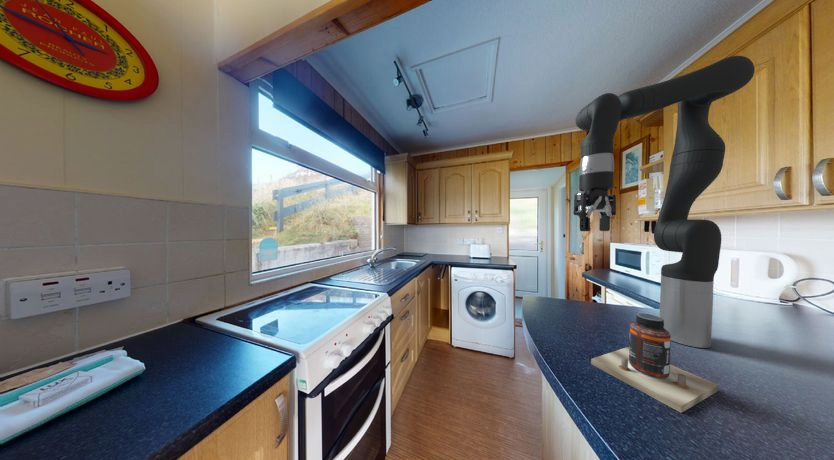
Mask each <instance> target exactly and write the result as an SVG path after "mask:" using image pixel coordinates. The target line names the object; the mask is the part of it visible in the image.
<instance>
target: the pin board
mask: <svg viewBox="0 0 834 460" xmlns="http://www.w3.org/2000/svg"><path fill="white" fill-rule="evenodd" d="M590 365H592V366H594V367H595V368H597V369H599V370H601V371H603V372H605V373H606V374H608V375H611V376H612V377H614V378H616V379H617V380H619V381H621V382H624V383H625V384H627V385H629V386H630V387H633V388H634V389H636V390H639V391H640V392H642V393H643V394H645V395H647V396H649V397H651V398H653V399H655V400H657V401H658V402H660V403H662V404H664V405H666V406H668V407H669V408H671V409H673V410H675V411H677V412H678V413H681V414H682V413H683V412H685V411H687V410H689V409H690V408H692V407H694V406H696V405H697V404H699V403H701V402H702V401H704V400H705V399H707V398H709V397H710V396H712V395H714V394H715V393H717V392H719V384H718V383H714V382H713V381H710V380H708V379H705V378H704V377H701V376H698V375H696V374H693V373H691V372H689V371H686V370H683V369H681V368H679V367H676V366H674V365H672V364H670V374H669V377H666V378H658V377H653V376H650V375H646V374H644V373H642V372H640V371H638V370H636V369H635V368H633V367H632V366H631V365H630V363H629V346H626V347H624V348H620V349H617V350H613V351H612V352H608V353H604V354H601V355H599V356H595V357H593V358H591V359H590Z"/></svg>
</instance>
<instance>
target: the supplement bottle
mask: <svg viewBox="0 0 834 460" xmlns="http://www.w3.org/2000/svg"><path fill="white" fill-rule="evenodd" d="M663 326H664V320H663V319H662V318H660V316H657V315H655V314H654V315H653V314H649V313H636V318H635V321H634V322H632V323H631V324H630V325H629V346H628V347H629V363H630V365H631V366H632V367H633V368H635V369H636V370H638V371H640V372H642V373H644V374H646V375H650V376H653V377H658V378H666V377H669V374H670V365H671V345H672V341H671V335H670V333H669V332H668V331H667V330H666V329H664V327H663Z"/></svg>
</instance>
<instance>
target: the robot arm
mask: <svg viewBox="0 0 834 460" xmlns="http://www.w3.org/2000/svg"><path fill="white" fill-rule="evenodd" d="M755 71H756V70H755V65H754V63H753V61H752V60H751V59H750V58H749V57H746V56H743V55H732V56H727V57H724V58H723V59H720V60H717V61H715V62H713V63H712V64H709V65H707V66H705V67H702V68H699V69H696V70H694V71H691V72H689V73H686V74H683V75H680V76H677V77H674V78H671V79H667V80H664V81H661V82H658V83H654V84H650V85H647V86H642V87H637V88H634V89H631V90H628V91H625V92H623V93H621V94H619V95H616V94H615V93H613V92H612V93H611V92H606V93H603V94H601V95H599V96H598V97H596V98H594V99H593V100H592V101H591V102H589V103H588V104H587V105H585V106H583V108H582V109H580V110H579V112H578V113H577V114H576V116H575V124H576V127H577V128H578V129H580V130H582V131H584V132H587V131H589V132H588V134H587V135H586V136H585V137H584V138H583V139H582V140H581V143H580V161H579V169H578V171H579V173H578V175H579V179H578V190H579V192H578V193H574V196H573V197H574V198H573V215H574V216H577V217H578V218H579V231H580V232H590V230H591V215H592V212H594V211H595V212H596V213H598V215H599V230H598V231H600V232H610V228H611V224H610V223H611V218H612V217H614V216H616V215H617V199H616V198H617V197H616V194H609V193H608V191H610V190H611V189H614V186H615V185H614V182H615V178H614V177H615V160H614V137H615V134H616V132H617V130H618V129H617V128H618V125H619V122H620V121H623V120H628V119H632V118H636V117H640V116H644V115H647V114H650V113H653V112H656V111H659V110H661V109H664V108H667V107H669V106H672V105H674V104H677V121H676V123H677V124H676V131H675V132H676V133H675V138H674V139H675V140H674V144H673V150H672V155H671V160H670V163H669V164H670V165H669V171H668V179H667V184H666V189H665V193H664V198H663V202H662V205H661V208H660V211H659V215H658V216H657V220H656V223H655V226H654V231H653V240H654V244H655V245H656V246H657V248H659V249H660V250H661V251H667V252H671V253H672V252H674V253H681V258H680V260H679V261H677V262H674V263H667V264H663V265H662V266H661V268H660V294H659V295H660V297H659V317H660V318H662V319H663V320H664V326H663V327H664V329H666V330H667V331H668V332H669V333H670V335H671V342H675V343H678V344H681V345H685V346H689V347H694V348H700V349H701V348H702V349H704V348H705V349H709V348H711V347H712V333H713V332H712V331H713V310H714V309H713V308H714V307H713V305H714V282H715V281H714V280H715V279H714V278H715V275H716V273H717V271H718V268H719V265H720V264H719V262H720V256H721V255H720V254H721V248H722V232H721V229H720V227H719V225H718V224H717V223H715V222H714V221H712V220H710V219H701V218H699V219H695V218H694V219H688V218H689V214H690V211H691V208H692V206H693V204H694V203H695V201H696V200H697V199H698V198H699V197H700V196H701V195H702V193H703V192H704V191H706V190H707V188H708V187H710V186H711V185H712V184H713V183H714V181H715V180H716V179H718V177H719V175H720V174H721V171H722V169H723V165H724V159H725V156H726V155H725V154H726V143H725V141H724V140H723V138H722V137H721V136H720V135H719V134H718V133H717V131H716V130H715V129H714V128H713V127H712V126H711V124H710V123H709V116H710V115H709V113H710V108H711V106H712V103H713V102H716V101H718V100H720V99H722V98H724V97H727V96H729V95H731V94H734V93H735V92H737V91H739V90H741V89H742V88H744V87H745V86H746V85H747V84H749V83H750V81H752V79H753V77H754V75H755ZM579 209H580V210H579Z"/></svg>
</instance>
